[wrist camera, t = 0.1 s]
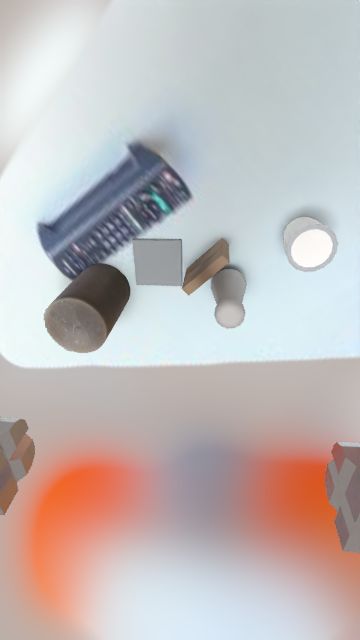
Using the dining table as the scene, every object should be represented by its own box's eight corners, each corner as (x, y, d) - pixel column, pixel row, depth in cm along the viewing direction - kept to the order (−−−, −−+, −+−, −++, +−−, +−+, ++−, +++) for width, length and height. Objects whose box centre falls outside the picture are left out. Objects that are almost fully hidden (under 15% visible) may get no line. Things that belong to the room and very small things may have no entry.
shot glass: (332, 238, 52) (347, 253, 46) (293, 263, 55) (301, 281, 49) (310, 202, 50) (322, 213, 44) (270, 230, 53) (276, 244, 47)
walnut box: (192, 274, 58) (188, 295, 51) (186, 268, 58) (181, 288, 51) (228, 244, 55) (229, 262, 48) (222, 238, 54) (222, 254, 47)
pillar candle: (135, 273, 59) (110, 314, 46) (123, 318, 64) (98, 366, 51) (82, 255, 59) (41, 292, 46) (74, 302, 64) (36, 347, 51)
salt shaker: (204, 279, 58) (200, 316, 47) (229, 257, 56) (231, 291, 45) (227, 301, 60) (228, 342, 49) (252, 280, 57) (259, 319, 46)
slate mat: (133, 238, 56) (132, 240, 55) (181, 239, 55) (180, 240, 54) (137, 282, 60) (136, 284, 59) (182, 284, 59) (181, 285, 58)
